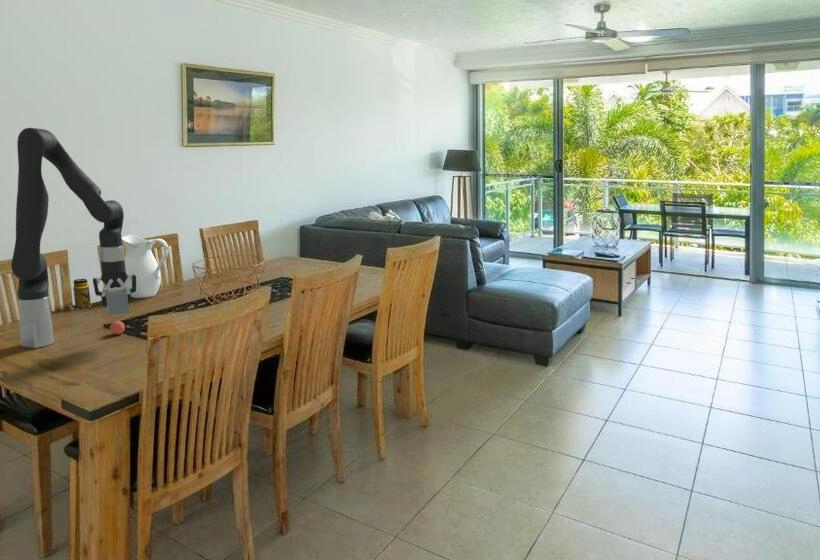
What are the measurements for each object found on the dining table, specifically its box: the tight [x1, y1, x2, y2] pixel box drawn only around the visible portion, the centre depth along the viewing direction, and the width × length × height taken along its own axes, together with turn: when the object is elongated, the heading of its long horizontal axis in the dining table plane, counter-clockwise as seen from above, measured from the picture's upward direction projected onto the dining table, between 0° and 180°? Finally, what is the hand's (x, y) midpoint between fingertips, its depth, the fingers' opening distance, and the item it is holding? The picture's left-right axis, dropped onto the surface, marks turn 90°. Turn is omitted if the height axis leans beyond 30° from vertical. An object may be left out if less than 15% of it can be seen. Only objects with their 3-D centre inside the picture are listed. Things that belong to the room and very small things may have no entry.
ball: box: [109, 320, 126, 335], centre depth 233 cm, size 5×5×5 cm
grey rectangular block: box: [105, 287, 130, 316], centre depth 219 cm, size 11×7×7 cm, turn 29°
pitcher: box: [122, 234, 170, 299], centre depth 287 cm, size 24×17×28 cm
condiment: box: [68, 278, 93, 311], centre depth 269 cm, size 7×8×12 cm
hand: (117, 305), depth 219 cm, fingers closed on grey rectangular block, 6 cm apart
